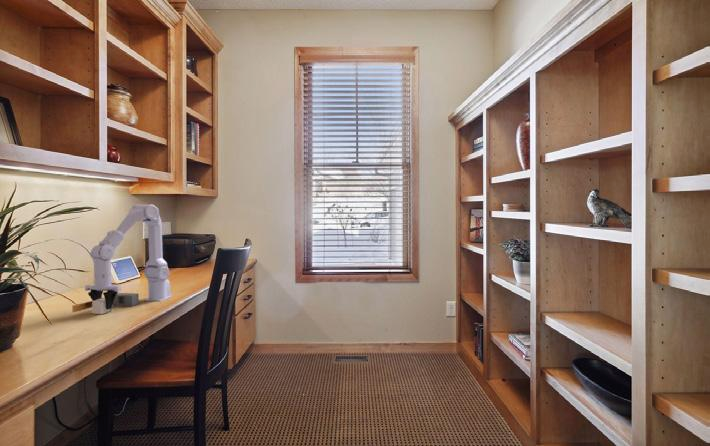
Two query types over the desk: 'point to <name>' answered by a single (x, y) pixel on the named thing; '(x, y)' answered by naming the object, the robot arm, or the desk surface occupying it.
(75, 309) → the orange long bar
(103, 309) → the plug
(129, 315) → the desk surface
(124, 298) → the socket block
